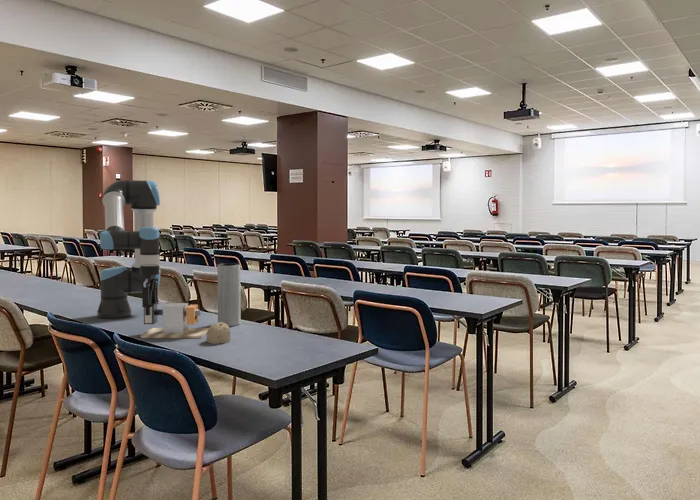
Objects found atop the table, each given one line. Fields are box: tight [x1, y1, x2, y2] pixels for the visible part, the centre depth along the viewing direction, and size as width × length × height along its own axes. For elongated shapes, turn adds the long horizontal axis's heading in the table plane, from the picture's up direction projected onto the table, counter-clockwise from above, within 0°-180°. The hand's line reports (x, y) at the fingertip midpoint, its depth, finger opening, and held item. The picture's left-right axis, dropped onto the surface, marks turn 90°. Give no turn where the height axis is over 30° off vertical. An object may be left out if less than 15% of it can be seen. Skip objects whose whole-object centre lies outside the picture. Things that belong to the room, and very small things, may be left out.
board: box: [140, 327, 210, 339], centre depth 225 cm, size 24×14×1 cm, turn 92°
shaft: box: [143, 303, 201, 325], centre depth 225 cm, size 22×4×8 cm, turn 92°
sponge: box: [206, 322, 231, 345], centre depth 214 cm, size 9×10×10 cm
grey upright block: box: [162, 302, 189, 334], centre depth 225 cm, size 8×8×11 cm
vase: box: [216, 262, 242, 327], centre depth 245 cm, size 10×10×27 cm
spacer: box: [186, 304, 199, 326], centre depth 225 cm, size 3×7×7 cm, turn 2°
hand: (150, 321), depth 225 cm, fingers closed on shaft, 4 cm apart
